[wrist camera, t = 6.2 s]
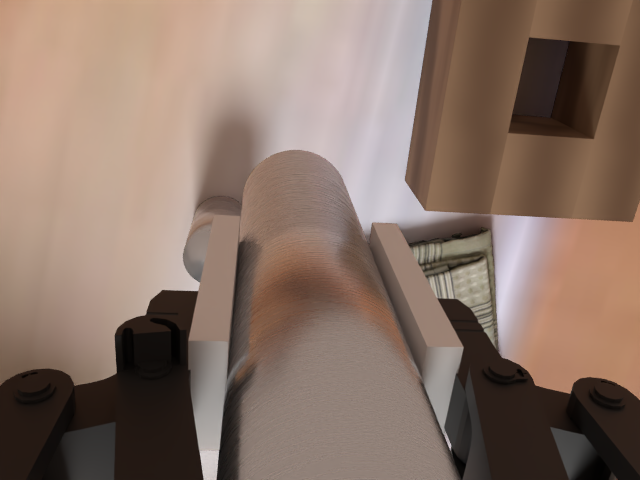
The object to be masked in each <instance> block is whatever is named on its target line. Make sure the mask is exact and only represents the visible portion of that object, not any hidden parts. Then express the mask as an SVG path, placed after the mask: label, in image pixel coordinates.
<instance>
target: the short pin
mask: <svg viewBox="0 0 640 480" xmlns="http://www.w3.org/2000/svg"><path fill="white" fill-rule="evenodd" d="M241 210H242V205H241V204H240V203H239V202H238V201H236V200H234V199H232V198H229V197H224V196H217V197H212V198H209V199H207V200H205V201H204V202H203V203H201V204H200V205H199V207H198V208H197V210H196V212H195V215H194V218H193V221H192V225H191V228H190V232H189V235H188V238H187V242H186V245H185V248H184V253H183V261H184V265H185V268H186V270H187V271H188V273H189V274H190V275H191V276H192V277H193V278H194V279H195V280H197V281H198V282H200V281H201V276H202V272H203V267H204V262H205V257H206V252H207V247H208V242H209V238H210V233H211V228H212V223H213V218H214V215H229V216H240V221H241Z"/></svg>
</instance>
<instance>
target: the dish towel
mask: <svg viewBox="0 0 640 480" xmlns="http://www.w3.org/2000/svg"><path fill="white" fill-rule="evenodd" d="M461 235H462V234H461V233H459V234H454V235H452V237H451V238H442V239H439V238H438V239H433V240H430V241H424V240H423V241H419V242H415V243H411V244H408V245H409V247H410V249H411V251H412V253H413V255H414V257H415V258H416V260H417V262H418V264H419V266H420V268H421V269H422V271H423V273H424V275H425V277H426V279H427V281H428V282H429V284H430V286H431V288H432V290H433V292H434V293H435V295H436V297H437V298H445V299H458V300H459V301H461V302H462V303H464V304H465V305H466V306H468V307H469V308H470V309H471V310H472V311H473V313H474V314H475V316H476V318H477V319H478V323H480V324H481V326H482V327H483V329H484V332H486V334H487V335H488V337H489V338H490V340H491V342H492V343H493V345H494V346H495V348H496V350H497V351H498V332H497V319H496V304H495V283H494V261H493V255H492V244H491V230H490V229H485V228H483V227H482V228H481V234H478V235H470V236H467V237H460V236H461Z"/></svg>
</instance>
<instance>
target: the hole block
mask: <svg viewBox="0 0 640 480" xmlns="http://www.w3.org/2000/svg"><path fill="white" fill-rule="evenodd" d="M529 37H531V38H542V39H554V40H565V41H570V42H569V46H568V50H567V54H566V58H565V62H564V66H563V71H562V75H561V79H560V83H559V87H558V91H557V95H556V99H555V103H554V107H553V111H552V115H551V118H550V117H537V116H523V115H512V112H513V108H514V103H515V99H516V94H517V90H518V85H519V81H520V76H521V72H522V67H523V63H524V58H525V53H526V49H527V44H528V40H529ZM405 181H406V183H407V184H408V186H409V187H410V189H411V190H412V192H413V193H414V195H415V196H416V198H417V199H418V201H419V202H420V204H421V205H422V207H423V208H424V210H425V211H441V212H459V213H478V214H496V215H515V216H533V217H552V218H570V219H589V220H607V221H626V222H633V219H634V216H635V213H636V210H637V207H638V204H639V201H640V0H433V1H432V8H431V14H430V20H429V27H428V33H427V40H426V46H425V53H424V59H423V66H422V72H421V79H420V85H419V92H418V98H417V105H416V111H415V118H414V124H413V131H412V137H411V144H410V150H409V157H408V163H407V170H406V176H405Z"/></svg>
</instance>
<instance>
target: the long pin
mask: <svg viewBox="0 0 640 480" xmlns="http://www.w3.org/2000/svg"><path fill="white" fill-rule="evenodd" d="M217 480H461V477H460V475H459V472H458V470H457V467H456V465H455V462H454V459H453V457H452V454H451V452H450V449H449V447H448V444H447V442H446V439H445V437H444V434H443V432H442V429H441V427H440V424H439V422H438V419H437V417H436V414H435V411H434V409H433V406H432V404H431V401H430V399H429V396H428V394H427V391H426V389H425V386H424V384H423V381H422V379H421V376H420V374H419V371H418V368H417V366H416V363H415V361H414V358H413V356H412V353H411V351H410V348H409V346H408V343H407V341H406V338H405V336H404V333H403V331H402V328H401V325H400V323H399V320H398V318H397V315H396V313H395V310H394V308H393V305H392V303H391V300H390V298H389V295H388V293H387V290H386V288H385V285H384V282H383V280H382V277H381V275H380V272H379V270H378V267H377V265H376V262H375V260H374V257H373V255H372V252H371V250H370V247H369V245H368V242H367V239H366V237H365V234H364V232H363V229H362V227H361V224H360V222H359V219H358V217H357V214H356V212H355V209H354V207H353V204H352V202H351V199H350V197H349V194H348V191H347V189H346V186H345V184H344V181H343V179H342V177H341V175H340V173H339V172H338V171H337V169H336V168H335V167H334V166H333V165H332V164H331V163H330V162H329V161H327V160H326V159H325V158H323V157H321V156H319V155H317V154H314V153H312V152H308V151H302V150H289V151H283V152H279V153H276V154H274V155H271V156H270V157H268V158H266V159H265V160H263V161H262V162H261V163H259V164H258V165H257V166H256V167H255V169H254V170H253V171H252V172H251V174H250V176H249V177H248V179H247V181H246V184H245V187H244V191H243V199H242V210H241V221H240V237H239V253H238V264H237V275H236V286H235V298H234V309H233V320H232V331H231V343H230V354H229V365H228V377H227V383H226V386H225V395H224V406H223V416H222V427H221V438H220V449H219V460H218V471H217Z"/></svg>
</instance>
